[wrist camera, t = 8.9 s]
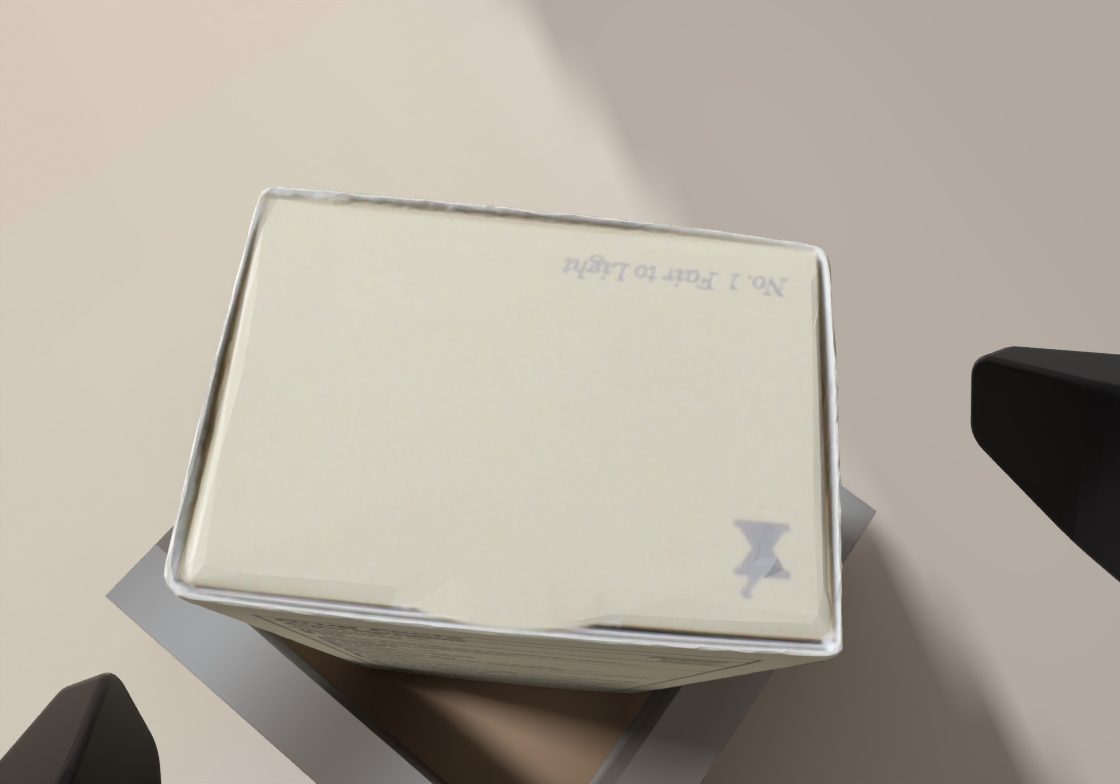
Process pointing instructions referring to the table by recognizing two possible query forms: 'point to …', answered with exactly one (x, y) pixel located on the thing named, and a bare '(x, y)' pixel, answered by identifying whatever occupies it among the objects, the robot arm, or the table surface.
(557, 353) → the skincare box
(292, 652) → the socket
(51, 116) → the table surface
